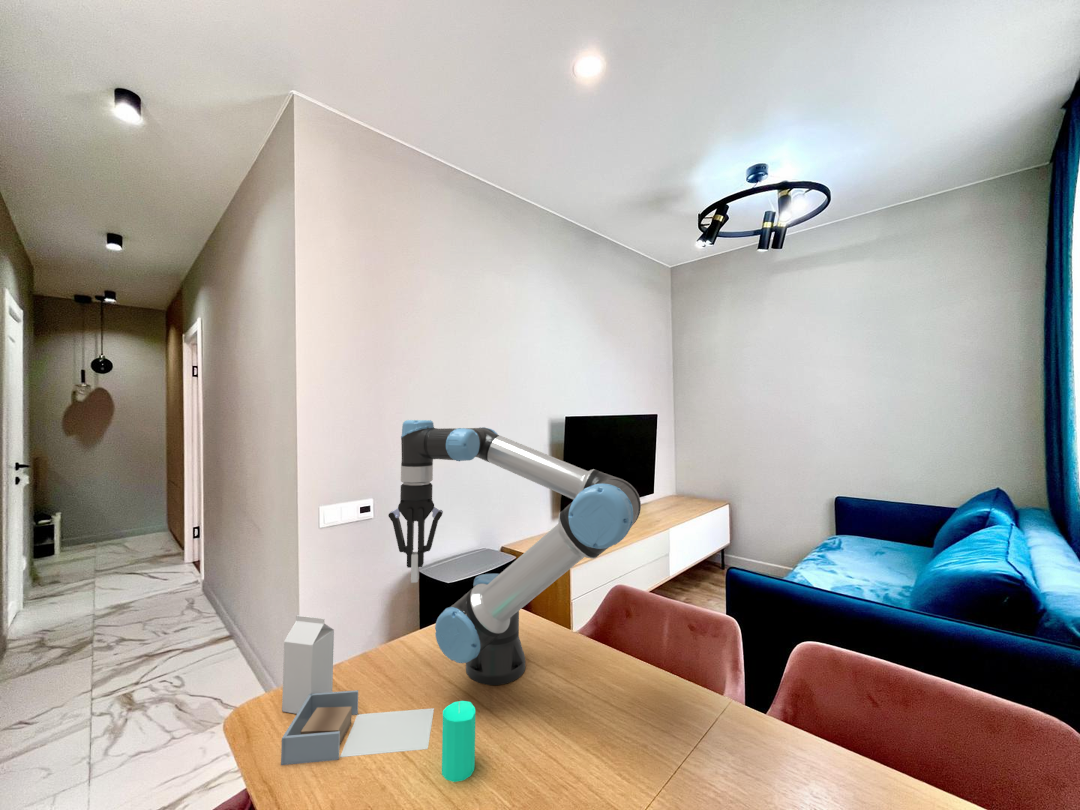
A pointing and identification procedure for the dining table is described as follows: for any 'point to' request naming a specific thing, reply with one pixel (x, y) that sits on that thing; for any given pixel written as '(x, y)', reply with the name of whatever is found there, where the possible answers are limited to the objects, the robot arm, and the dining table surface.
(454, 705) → the candle
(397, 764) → the dining table surface
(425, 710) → the runner mat
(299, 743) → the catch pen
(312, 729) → the brown block
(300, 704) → the milk carton
